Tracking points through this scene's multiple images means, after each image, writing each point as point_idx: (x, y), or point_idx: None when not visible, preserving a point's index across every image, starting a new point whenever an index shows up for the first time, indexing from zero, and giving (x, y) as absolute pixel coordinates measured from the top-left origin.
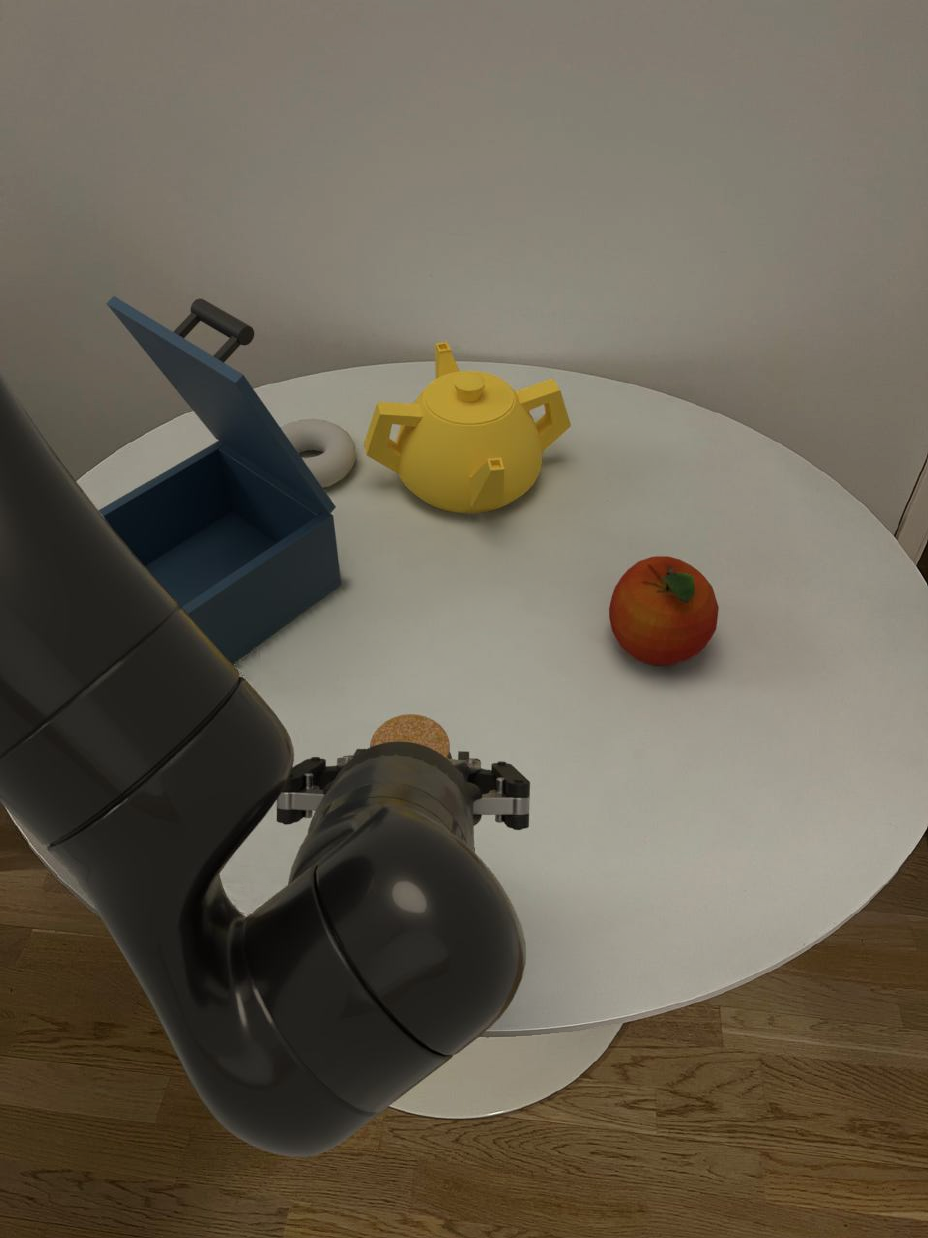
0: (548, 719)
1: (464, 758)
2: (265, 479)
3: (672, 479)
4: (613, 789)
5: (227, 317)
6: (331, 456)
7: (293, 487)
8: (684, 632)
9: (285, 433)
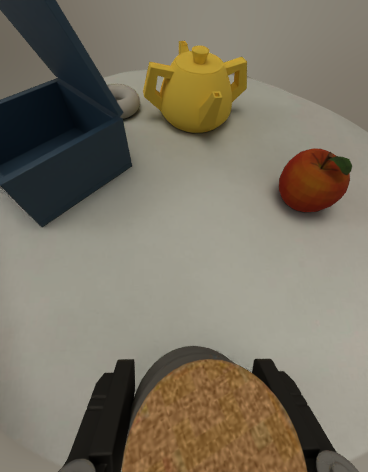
0: (248, 242)
1: (296, 419)
2: (82, 98)
3: (288, 120)
4: (291, 287)
5: None
6: (126, 100)
7: (97, 99)
8: (335, 194)
9: None
